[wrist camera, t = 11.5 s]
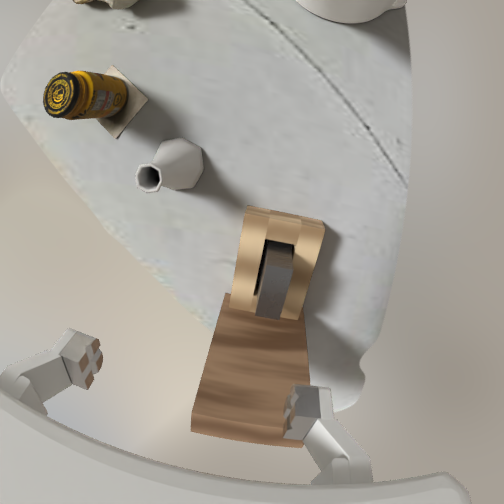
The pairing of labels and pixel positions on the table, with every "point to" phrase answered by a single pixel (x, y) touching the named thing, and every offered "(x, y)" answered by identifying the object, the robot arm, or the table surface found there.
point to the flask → (171, 167)
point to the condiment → (94, 98)
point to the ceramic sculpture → (112, 3)
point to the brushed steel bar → (274, 279)
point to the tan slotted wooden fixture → (258, 338)
